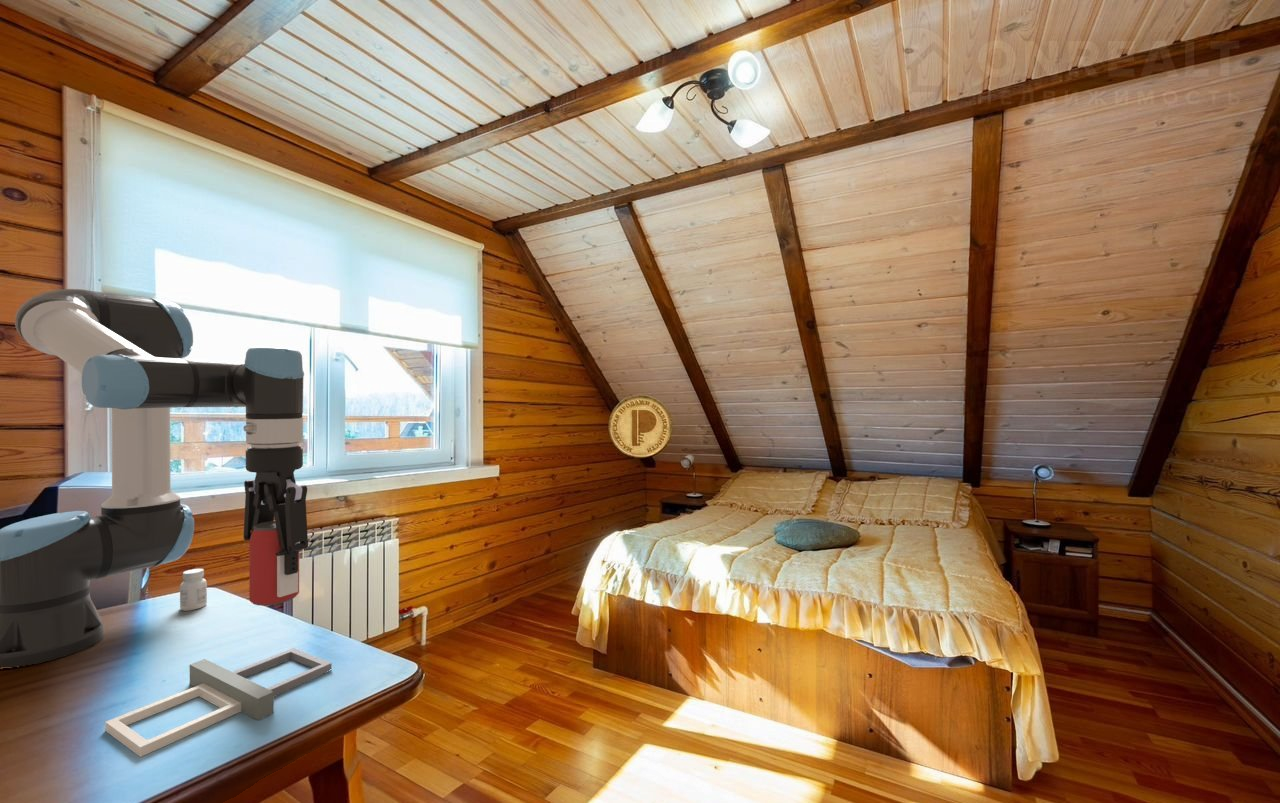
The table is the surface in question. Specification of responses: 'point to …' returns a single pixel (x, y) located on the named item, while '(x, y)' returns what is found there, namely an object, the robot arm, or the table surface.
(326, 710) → the table surface
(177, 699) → the double frame with crossbar
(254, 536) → the beer can
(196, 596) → the pill bottle
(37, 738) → the table surface
